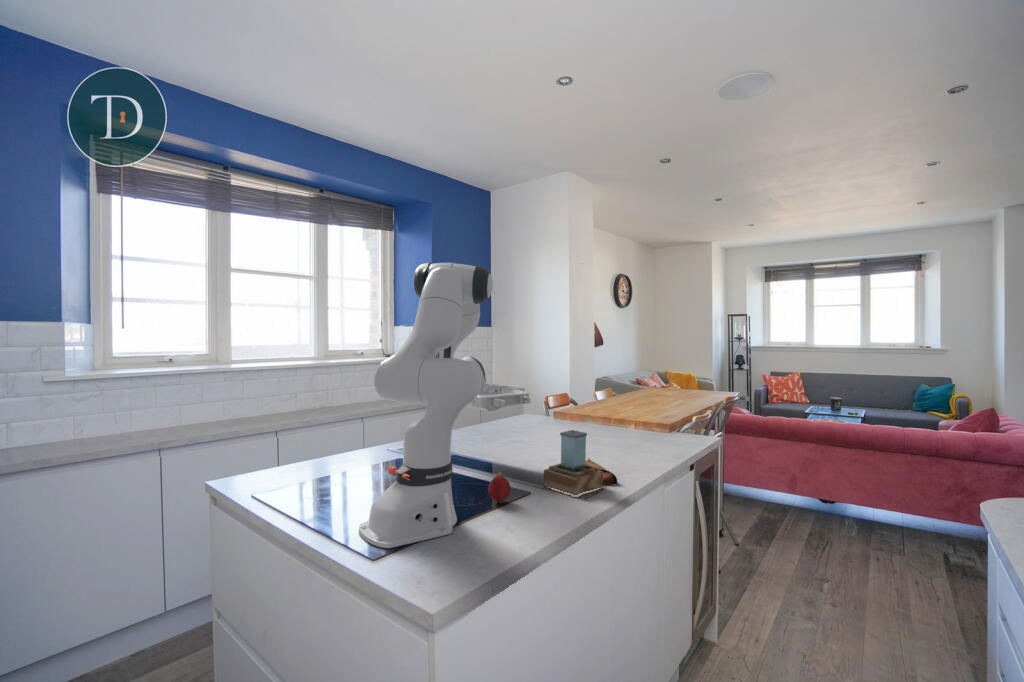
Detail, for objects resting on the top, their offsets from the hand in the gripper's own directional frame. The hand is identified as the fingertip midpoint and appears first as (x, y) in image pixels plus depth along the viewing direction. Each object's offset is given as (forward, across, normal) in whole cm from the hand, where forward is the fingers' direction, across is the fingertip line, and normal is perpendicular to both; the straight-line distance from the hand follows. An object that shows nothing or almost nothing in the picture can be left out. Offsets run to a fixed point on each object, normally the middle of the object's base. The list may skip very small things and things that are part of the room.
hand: (517, 402), depth 147 cm
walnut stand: (+18, +6, +23) cm, 30 cm away
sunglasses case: (+15, +18, +24) cm, 33 cm away
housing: (+18, +6, +18) cm, 26 cm away
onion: (+13, -18, +24) cm, 33 cm away
